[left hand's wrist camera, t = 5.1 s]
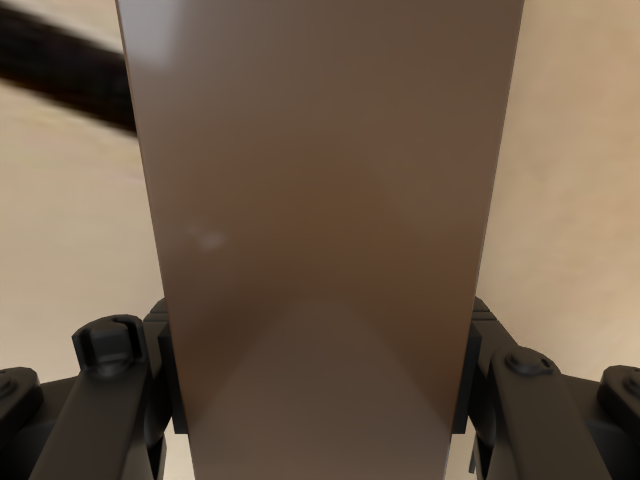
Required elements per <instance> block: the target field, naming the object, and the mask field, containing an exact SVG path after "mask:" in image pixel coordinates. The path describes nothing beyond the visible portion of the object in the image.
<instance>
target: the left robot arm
mask: <svg viewBox="0 0 640 480" xmlns="http://www.w3.org/2000/svg"><path fill="white" fill-rule="evenodd" d="M72 340H73V344H74V348H75V351H76V355H77V358H78V362H79V365H80V369H81V371H80V373H79V375H78V376H75V377H71V378H67V379H62V380H57V381H52V382H47V383H43V384H40V382H39V379H38V376H37V373H36V372H35V371H34V370H32V369H31V368H25V367H16V368H8V369H3V370H0V480H163V474H164V466H165V458H166V450H167V447H166V440H165V435H164V431H165V429H166V427H167V425H168V423H169V421H170V419H171V416H172V421H173V426H174V431H175V434H188V433H187V427H186V421H185V415H184V409H183V403H182V397H181V391H180V385H179V379H178V373H177V367H176V361H175V355H174V349H173V343H172V337H171V331H170V325H169V319H168V313H167V307H166V301H165V298H163V299H161V300H160V301H158V302H157V304H156V305H155V306H154V307H153V309H152V310H151V311H150V314H148V315H147V316H146V317H145V318H144V320H143V322H142V320H141V319H139V318H138V317H137V316H133V315H128V314H124V315H112V316H108V317H103V318H100V319H97V320H95V321H92V322H90V323H88V324H86V325H85V326H83V327H81V328H80V329H78V330H77V331H76V332H75V333H74V335H73V336H72ZM468 415H469V417H470V419H471V421H472V424H473V426H474V428H475V430H476V435H475V440H474V445H473V450H472V455H471V460H470V466H469V473H473V474H474V470H475V465H476V473H477V480H640V368H636V367H630V366H623V365H617V366H610V367H608V368H607V369H606V370H604V372H603V375H602V378H601V381H600V382H596V381H591V380H586V379H581V378H577V377H572V376H567V375H564V374H561V372H560V370H559V369H558V367H557V366H556V365H555V363H554V362H553V361H552V360H550V359H549V358H547V357H546V356H545V355H543V354H541V353H539V352H537V351H534V350H532V349H530V348H526V347H522V346H519V345H518V344H517V343H516V342H515V340H514V339H513V338H512V337H511V335H510V334H509V333H508V332H507V331H506V329H505V328H504V327H503V326H502V324H501V323H500V322H499V321H497V318H496V317H495V316H494V315H493V313H492V312H490V310H489V308H488V307H487V306H486V305H485V304H484V302H483V301H482V300H481V299H479V298H477V297H476V296H475V299H474V305H473V311H472V317H471V323H470V329H469V335H468V341H467V347H466V353H465V359H464V365H463V371H462V377H461V383H460V389H459V395H458V401H457V407H456V413H455V419H454V425H453V431H452V434H465V430H466V425H467V419H468Z"/></svg>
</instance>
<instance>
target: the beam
mask: <svg viewBox="0 0 640 480" xmlns="http://www.w3.org/2000/svg"><path fill="white" fill-rule="evenodd" d="M115 2H116V8H117V14H118V20H119V26H120V32H121V38H122V44H123V50H124V56H125V62H126V68H127V74H128V80H129V86H130V92H131V98H132V104H133V110H134V116H135V122H136V128H137V134H138V140H139V146H140V152H141V158H142V164H143V170H144V176H145V182H146V188H147V194H148V200H149V206H150V212H151V218H152V224H153V230H154V236H155V242H156V248H157V254H158V260H159V266H160V272H161V278H162V284H163V290H164V296H165V301H166V307H167V313H168V319H169V325H170V331H171V337H172V343H173V349H174V355H175V361H176V367H177V373H178V379H179V385H180V391H181V397H182V403H183V409H184V415H185V421H186V427H187V433H188V439H189V445H190V451H191V457H192V463H193V469H194V475H195V480H444V479H445V473H446V467H447V461H448V455H449V449H450V443H451V437H452V431H453V425H454V419H455V413H456V407H457V401H458V395H459V389H460V383H461V377H462V371H463V365H464V359H465V353H466V347H467V341H468V335H469V329H470V323H471V317H472V311H473V305H474V299H475V293H476V287H477V281H478V275H479V269H480V263H481V257H482V251H483V245H484V239H485V233H486V227H487V221H488V215H489V209H490V203H491V197H492V191H493V185H494V179H495V173H496V167H497V161H498V155H499V149H500V143H501V137H502V131H503V125H504V119H505V113H506V107H507V101H508V95H509V89H510V83H511V77H512V71H513V65H514V59H515V53H516V47H517V41H518V35H519V29H520V23H521V17H522V11H523V5H524V0H115Z"/></svg>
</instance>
